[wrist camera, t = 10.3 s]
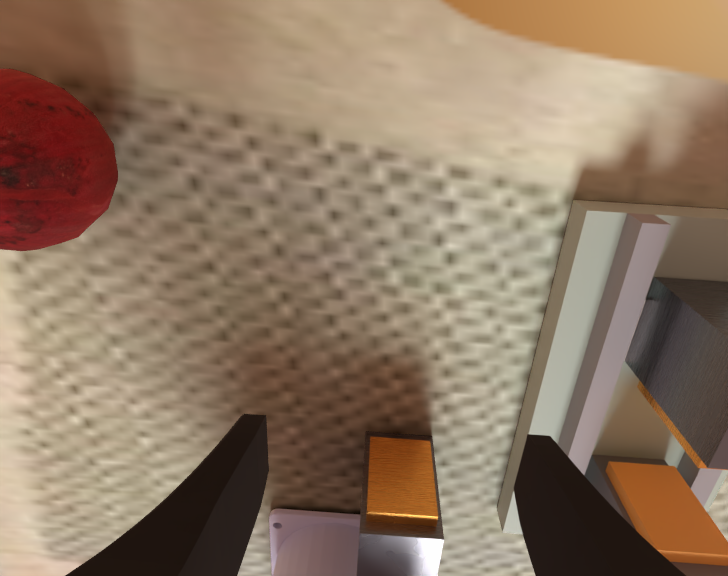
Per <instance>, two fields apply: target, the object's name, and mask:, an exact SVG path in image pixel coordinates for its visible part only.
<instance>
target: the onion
mask: <svg viewBox="0 0 728 576" xmlns="http://www.w3.org/2000/svg"><path fill="white" fill-rule="evenodd" d="M117 181H118V170H117V164H116V157H115V150H114V144H113V143H112V141H111V140H110V138H109V136H108V135H107V133H106V132H105V130H104V128H103V127H102V125H101V124H100V122H99V121H98V119H97V117H96V116H95V115H94V114H93V112H91V111H90V110H89V109H88V108H87V107H85V106H84V105H83V104H82V103H80V102H79V101H78V100H77V99H76V98H74V97H73V96H72V95H71V94H69V93H68V92H67V91H66V90H65V89H63V88H61V87H59V86H56V85H54V84H52V83H49V82H47V81H45V80H42V79H40V78H38V77H36V76H33V75H31V74H28V73H24V72H21V71H17V70H14V69H0V249H4V250H16V251H28V250H37V249H41V248H45V247H48V246H52V245H55V244H59V243H62V242H65V241H68V240H71V239H74V238H77V237H79V236H80V235H81V234H82V233H83V232H84V231H85V230H86V229H87V228H88V227H89V226H90V225H91V224H92V223H93V222H94V221H95V220H96V219H97V218H99V217H100V216H101V215H102V214H103V213H104V212H105V211H106V210H107V209H108V207H109V204H110V201H111V199H112V196H113V193H114V190H115V187H116V184H117Z"/></svg>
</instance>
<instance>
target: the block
mask: <svg viewBox="0 0 728 576" xmlns="http://www.w3.org/2000/svg"><path fill="white" fill-rule="evenodd" d="M443 542H444V536H443V527H442V519H441V510H440V501H439V492H438V484H437V475H436V466H435V457H434V448H433V440H432V436H422V435H408V434H395V433H381V432H367V431H366V435H365V450H364V465H363V479H362V495H361V511H360V527H359V544H358V560H357V576H437V574H438V569H439V563H440V558H441V553H442V547H443Z"/></svg>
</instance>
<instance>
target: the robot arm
mask: <svg viewBox="0 0 728 576" xmlns="http://www.w3.org/2000/svg"><path fill="white" fill-rule="evenodd" d="M268 471H269V465H268V445H267V425H266V415H252V414H244V415H242V416H241V417H240V418H239V419H238V421H237V422H236V423H235V424H234V426H233V427H232V428H231V429H230V430H229V432H228V433H227V434H226V435H225V436H224V438H223V439H222V440H221V441H220V442H219V444H218V445H217V446H216V447H215V448H214V449H213V450H212V452H211V453H210V454H209V455H208V456H207V457H206V458H205V459H204V460H203V461H202V462H201V464H200V465H199V466H198V467H197V468H196V469H195V470H194V471H193V472H192V473H191V474H190V475H189V476H188V477H187V478H186V479H185V480H184V481H183V482H182V483H181V484H180V485H179V486H178V487H177V488H176V489H175V490H174V491H173V492H172V493H171V494H170V495H169V496H168V497H167V498H166V499H165V500H163V501H162V502H161V503H160V504H159V505H158V506H157V507H156V508H155V509H153V510H152V511H151V512H150V513H149V514H148V515H147V516H145V517H144V518H143V519H142V520H141V521H139V522H138V523H137V524H136V525H135V526H133V527H132V528H131V529H130V530H128V531H127V532H126V533H124V534H123V535H122V536H121V537H119V538H118V539H117V540H116V541H114V542H113V543H112V544H110V545H109V546H108V547H106V548H105V549H104V550H102V551H101V552H99V553H98V554H97V555H95V556H94V557H92V558H91V559H89V560H88V561H86V562H85V563H84V564H82V565H81V566H79V567H78V568H76V569H75V570H73V571H72V572H70V573H69V574H67V575H66V576H237V574H238V571H239V569H240V566H241V563H242V560H243V557H244V554H245V551H246V548H247V545H248V542H249V539H250V537H251V534H252V531H253V528H254V525H255V522H256V519H257V516H258V513H259V510H260V507H261V503H262V498H263V494H264V490H265V485H266V480H267V476H268ZM514 494H515V500H516V505H517V511H518V516H519V521H520V526H521V529H522V533H523V536H524V539H525V543H526V546H527V549H528V553H529V556H530V559H531V562H532V565H533V569H534V572H535V575H536V576H686V575H685V574H684V573H683V572H681V571H680V570H679V569H678V568H677V567H675V566H674V565H673V564H672V563H671V562H670V561H669V560H668V559H666V558H665V557H664V556H663V555H662V554H661V553H660V552H659V551H657V550H656V549H655V548H654V547H653V546H652V545H651V544H650V543H649V542H648V541H646V540H645V539H644V538H643V537H642V536H641V535H640V534H639V533H638V532H637V531H636V530H635V529H634V528H633V527H632V526H631V525H630V524H629V523H628V522H627V521H626V520H625V519H624V518H623V517H622V516H621V515H620V514H619V513H618V512H617V511H616V510H615V509H614V508H613V507H612V506H611V505H610V503H609V502H608V501H607V500H606V499H605V498H604V497H603V496H602V495H601V494H600V493H599V492H598V490H597V489H596V488H595V487H594V486H593V485H592V484H591V483H590V482H589V480H588V479H587V478H586V477H585V476H584V475H583V474H582V472H581V471H580V470H579V469H578V468H577V467H576V465H575V464H574V463H573V462H572V461H571V460H570V458H569V457H568V456H567V455H566V454H565V453H564V451H563V450H562V449H561V448H560V447H559V446H558V444H557V443H556V442H555V441H554V440H553V439H552V437H551V436H546V435H532V434H527V438H526V442H525V446H524V450H523V454H522V457H521V461H520V465H519V469H518V473H517V477H516V480H515V484H514ZM359 527H360V515H358V514H344V513H331V512H318V511H305V510H291V509H273V510H272V511H271V512H270V516H269V530H270V549H271V568H272V576H357V560H358V544H359Z"/></svg>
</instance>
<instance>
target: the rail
mask: <svg viewBox="0 0 728 576" xmlns="http://www.w3.org/2000/svg"><path fill="white" fill-rule="evenodd" d="M654 277H663V278H678V279H692V280H707V281H721V282H728V209H715V208H698V207H682V206H666V205H650V204H633V203H617V202H601V201H585V200H573V203H572V207H571V211H570V215H569V219H568V223H567V227H566V232H565V236H564V240H563V244H562V248H561V252H560V256H559V260H558V264H557V268H556V272H555V276H554V280H553V284H552V288H551V292H550V296H549V300H548V304H547V308H546V313H545V317H544V321H543V325H542V329H541V333H540V337H539V341H538V345H537V349H536V353H535V357H534V361H533V365H532V369H531V373H530V377H529V381H528V385H527V389H526V394H525V398H524V402H523V406H522V410H521V414H520V418H519V422H518V426H517V430H516V434H515V438H514V442H513V446H512V450H511V454H510V458H509V462H508V466H507V470H506V475H505V479H504V483H503V487H502V491H501V495H500V499H499V503H498V507H497V511H498V516H499V520H500V524H501V528H502V532H503V533H513V534H523V533H522V529H521V526H520V521H519V516H518V511H517V505H516V500H515V494H514V484H515V480H516V477H517V473H518V469H519V465H520V461H521V457H522V454H523V450H524V446H525V442H526V438H527V434H532V435H546V436H551V437H552V439H553V440H554V441H555V442H556V443H557V444H558V446H559V447H560V448H561V449H562V450H563V451H564V453H565V454H566V455H567V456H568V457H569V458H570V460H571V461H572V462H573V463H574V464H575V465H576V467H577V468H578V469H579V470H580V471H581V472H582V474H583V475H584V476H585V477H586V478H587V479H588V480H589V482H590V483H591V484H592V485H593V486H594V487H595V488H596V489H597V490H598V492H599V493H600V494H601V495H602V496H603V497H604V498H605V499H606V500H607V501H608V502H609V503H610V505H611V506H612V507H613V508H614V509H615V510H616V511H617V512H618V513H619V514H620V515H621V516H622V517H623V518H624V519H625V520H626V521H627V522H628V523H629V524H630V525H631V526H632V527H633V528H634V529H635V530H636V531H637V532H638V533H639V534H640V535H641V536H642V537H643V538H644V539H645V540H646V541H648V542H649V543H650V544H651V545H652V546H653V547H654V548H655V549H656V550H657V551H659V552H660V553H661V554H662V555H663V556H664V557H665V558H666V559H668V560H669V561H670V562H671V563H672V564H673V565H674V566H675V567H677V568H678V569H679V570H680V571H681V572H683V573H684V574H685V575H686V576H728V542H727V540H726V539H725V537H724V536H723V535H722V533H721V532H720V530H719V529H718V527H717V526H716V525H715V523H714V522H713V520H712V519H711V517H710V516H709V515H708V511H709V509H710V507H711V505H712V503H713V501H714V499H715V497H716V495H717V493H718V492H719V490H720V488H721V486H722V484H723V482H724V480H725V478H726V476H727V474H728V470H719V469H706V468H698V467H697V466H696V465H695V463H694V462H693V461H692V459H691V458H690V457H689V455H688V454H687V453H686V451H685V450H684V449H683V447H682V446H681V445H680V443H679V442H678V441H677V439H676V438H675V437H674V435H673V434H672V433H671V431H670V430H669V429H668V427H667V426H666V425H665V423H664V422H663V421H662V419H661V418H660V417H659V415H658V414H657V413H656V411H655V410H654V409H653V407H652V406H651V405H650V403H649V402H648V401H647V399H646V398H645V397H644V396H643V394H642V393H641V392H640V390H639V389H638V388H637V385H638V383H639V379H638V378H637V376H636V375H635V374H634V372H633V371H632V370H631V368H630V367H629V366H628V365H627V363H626V362H625V358H626V355H627V352H628V350H629V347H630V344H631V341H632V338H633V335H634V333H635V330H636V327H637V324H638V321H639V318H640V316H641V313H642V310H643V307H644V304H645V301H646V298H647V296H648V293H649V290H650V287H651V284H652V281H653V279H654Z"/></svg>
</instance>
